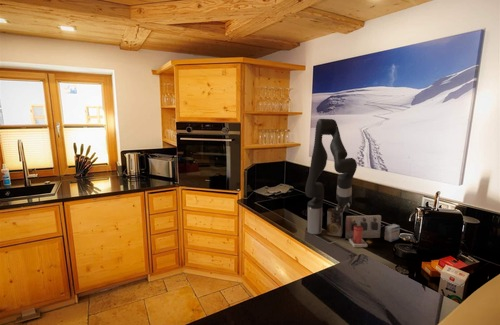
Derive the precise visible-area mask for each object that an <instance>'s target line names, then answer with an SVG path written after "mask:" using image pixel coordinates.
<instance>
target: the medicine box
mask: <svg viewBox="0 0 500 325" xmlns="http://www.w3.org/2000/svg"><path fill="white" fill-rule="evenodd" d="M400 228H401V226H400V225H399V224H396V223H392V224H389V225H386V226H384V240H385V241H388V242H390V243H392V242H394V241H398V240H399V239H400V230H401V229H400Z"/></svg>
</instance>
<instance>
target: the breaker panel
mask: <svg viewBox="0 0 500 325" xmlns="http://www.w3.org/2000/svg"><path fill="white" fill-rule="evenodd" d="M354 226H361V227H363V230H362V239H374V238H375V239H378V238H379V239H380V238H381V229H382V228H381V226H382V215H380V214H376V215H375V214H374V215H371V214H370V215H346V216H345V235H344V237H345V239H347V240H349V239H353V236H354Z"/></svg>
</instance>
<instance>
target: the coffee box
mask: <svg viewBox="0 0 500 325" xmlns="http://www.w3.org/2000/svg"><path fill="white" fill-rule="evenodd" d="M340 210H342V209H340ZM334 212H335V208H331V207H328V209H327V211H326V213H327V214H326V215H327V216H326V221H327V222H326V235H328V236H334V237H335V236H336V237H342V235H343V213H344V211H343V212H342V214H341V220H340V221H339V220H337V216H335V215H334Z"/></svg>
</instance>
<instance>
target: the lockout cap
mask: <svg viewBox="0 0 500 325" xmlns="http://www.w3.org/2000/svg"><path fill="white" fill-rule="evenodd" d="M362 230H363V227H361V226H354V236H353V238H352V239H353V243H354V244H361V242H362V239H363V238H362Z"/></svg>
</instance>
